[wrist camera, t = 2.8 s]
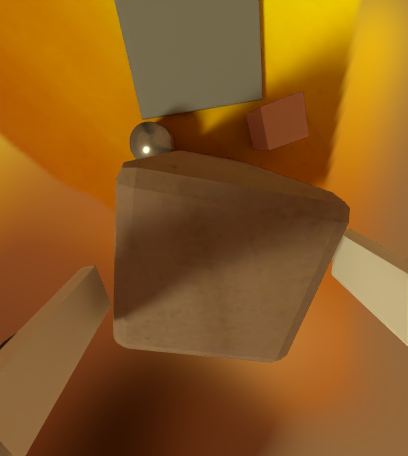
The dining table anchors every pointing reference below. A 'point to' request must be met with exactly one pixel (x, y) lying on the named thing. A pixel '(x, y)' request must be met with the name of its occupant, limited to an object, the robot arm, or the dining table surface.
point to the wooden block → (218, 255)
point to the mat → (192, 53)
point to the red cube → (278, 123)
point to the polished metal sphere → (151, 140)
